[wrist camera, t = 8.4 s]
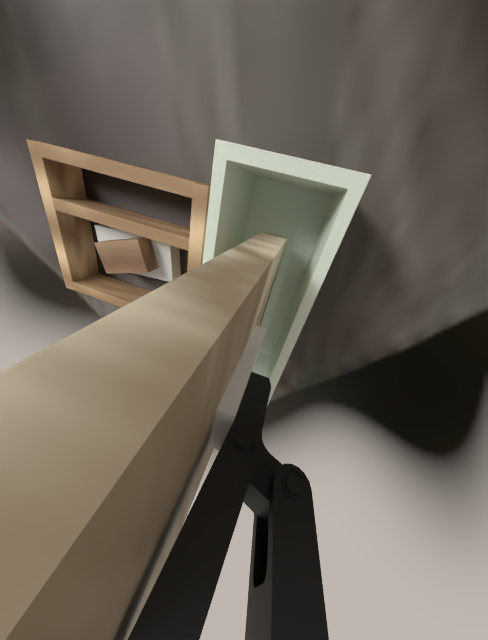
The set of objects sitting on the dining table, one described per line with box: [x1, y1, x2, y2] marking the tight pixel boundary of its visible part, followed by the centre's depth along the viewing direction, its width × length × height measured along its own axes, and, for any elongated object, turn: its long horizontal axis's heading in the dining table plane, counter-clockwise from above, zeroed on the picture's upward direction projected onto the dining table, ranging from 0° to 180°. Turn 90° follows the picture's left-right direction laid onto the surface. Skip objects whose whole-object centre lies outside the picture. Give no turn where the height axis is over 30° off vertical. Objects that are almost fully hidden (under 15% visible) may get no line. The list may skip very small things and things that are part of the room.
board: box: [0, 231, 288, 640], centre depth 12 cm, size 2×12×18 cm, turn 167°
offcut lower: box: [94, 224, 181, 282], centre depth 26 cm, size 5×10×2 cm, turn 83°
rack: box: [26, 139, 211, 307], centre depth 24 cm, size 16×19×4 cm
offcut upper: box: [94, 237, 159, 273], centre depth 24 cm, size 4×6×2 cm, turn 95°
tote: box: [202, 139, 371, 406], centre depth 20 cm, size 21×9×9 cm, turn 167°
